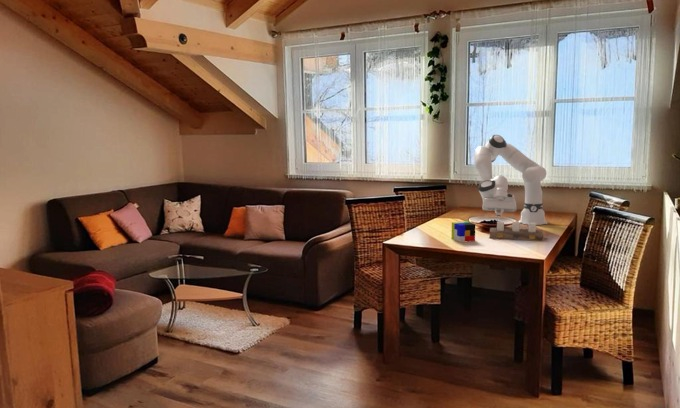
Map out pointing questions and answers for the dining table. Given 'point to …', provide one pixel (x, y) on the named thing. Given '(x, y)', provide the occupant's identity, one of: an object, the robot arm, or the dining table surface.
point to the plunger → (531, 227)
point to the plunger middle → (516, 226)
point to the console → (516, 234)
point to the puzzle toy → (463, 231)
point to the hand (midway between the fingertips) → (498, 215)
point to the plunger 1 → (500, 225)
